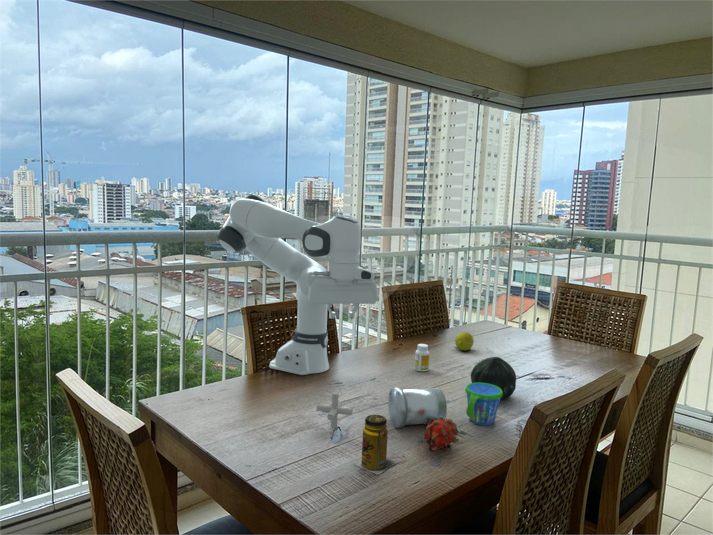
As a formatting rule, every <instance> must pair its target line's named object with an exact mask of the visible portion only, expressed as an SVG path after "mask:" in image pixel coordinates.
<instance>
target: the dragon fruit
mask: <svg viewBox="0 0 713 535" xmlns="http://www.w3.org/2000/svg"><path fill="white" fill-rule="evenodd" d="M423 434H424V435H423V439H424V440H425V442H426V445H427V446H429V448H428V450H429V451H438V452H439V451H440V450H441V448H443V449H444V451H449V450H450V449H451V448H452V447H453V444H457V443H459V441H460V440H459V438H458V437H457V435H458V434H459V430H458V427H457V425H456V423H455V422H454V421H453V419H451V418H445V420H444V419H443V418H442V417H440V418H439V420H434V419H433V420H431V421H430V423H429V424H426V427H425V428H424V433H423Z"/></svg>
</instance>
